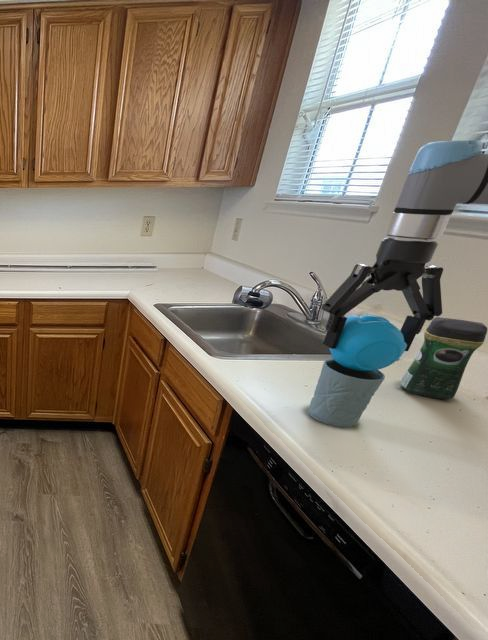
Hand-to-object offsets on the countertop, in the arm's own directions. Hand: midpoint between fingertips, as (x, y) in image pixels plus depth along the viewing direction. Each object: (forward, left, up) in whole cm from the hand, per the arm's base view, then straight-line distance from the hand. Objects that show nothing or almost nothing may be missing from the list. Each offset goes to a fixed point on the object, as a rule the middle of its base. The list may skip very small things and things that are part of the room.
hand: (364, 347), depth 84 cm
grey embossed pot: (0, 0, -17) cm, 17 cm away
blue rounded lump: (0, 0, -5) cm, 5 cm away
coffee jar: (-16, -31, -17) cm, 39 cm away
